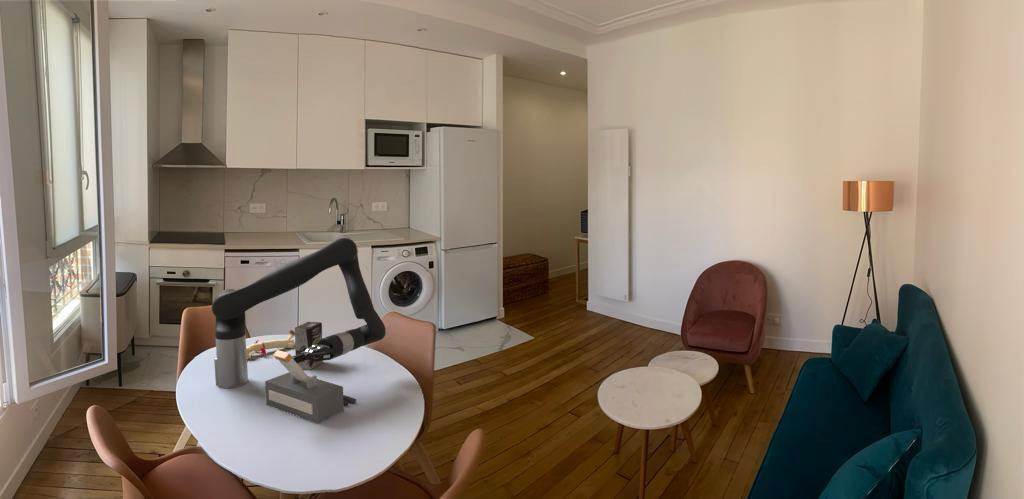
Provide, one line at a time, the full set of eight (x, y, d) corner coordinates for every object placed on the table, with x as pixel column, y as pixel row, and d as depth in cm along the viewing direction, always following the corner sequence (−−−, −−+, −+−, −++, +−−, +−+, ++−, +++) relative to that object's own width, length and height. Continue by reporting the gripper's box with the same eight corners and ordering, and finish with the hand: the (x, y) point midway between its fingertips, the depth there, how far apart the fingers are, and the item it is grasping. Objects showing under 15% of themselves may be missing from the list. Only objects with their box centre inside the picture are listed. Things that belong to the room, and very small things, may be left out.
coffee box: (310, 370, 197) (309, 328, 194) (295, 368, 198) (293, 327, 196) (323, 361, 206) (322, 322, 203) (309, 360, 207) (307, 320, 205)
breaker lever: (300, 376, 166) (276, 349, 158) (313, 380, 164) (289, 353, 155) (296, 381, 165) (272, 355, 157) (309, 385, 162) (285, 358, 154)
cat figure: (289, 346, 226) (228, 356, 208) (290, 326, 226) (228, 334, 207) (300, 352, 220) (237, 362, 201) (301, 331, 219) (238, 340, 200)
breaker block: (308, 387, 181) (307, 357, 179) (358, 403, 169) (357, 371, 168) (265, 405, 167) (263, 372, 165) (316, 424, 155) (315, 389, 153)
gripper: (322, 331, 177) (277, 345, 162) (350, 337, 171) (306, 353, 156) (322, 352, 179) (278, 368, 163) (350, 359, 172) (307, 376, 157)
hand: (292, 360), depth 160 cm, fingers closed
